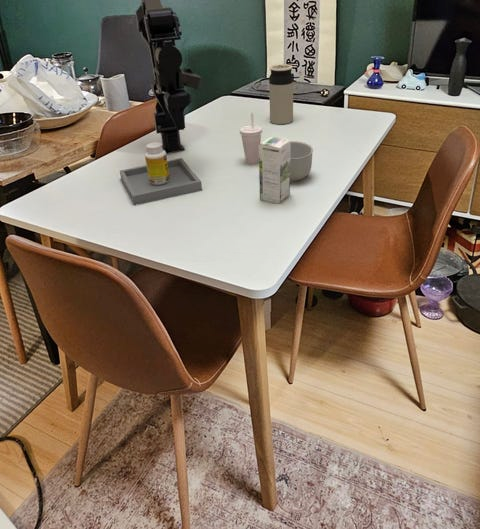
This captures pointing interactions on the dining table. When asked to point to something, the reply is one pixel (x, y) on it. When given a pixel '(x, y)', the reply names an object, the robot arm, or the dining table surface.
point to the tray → (178, 184)
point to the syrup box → (274, 169)
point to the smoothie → (251, 141)
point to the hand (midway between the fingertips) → (174, 123)
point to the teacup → (300, 160)
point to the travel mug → (281, 94)
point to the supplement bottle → (157, 164)
